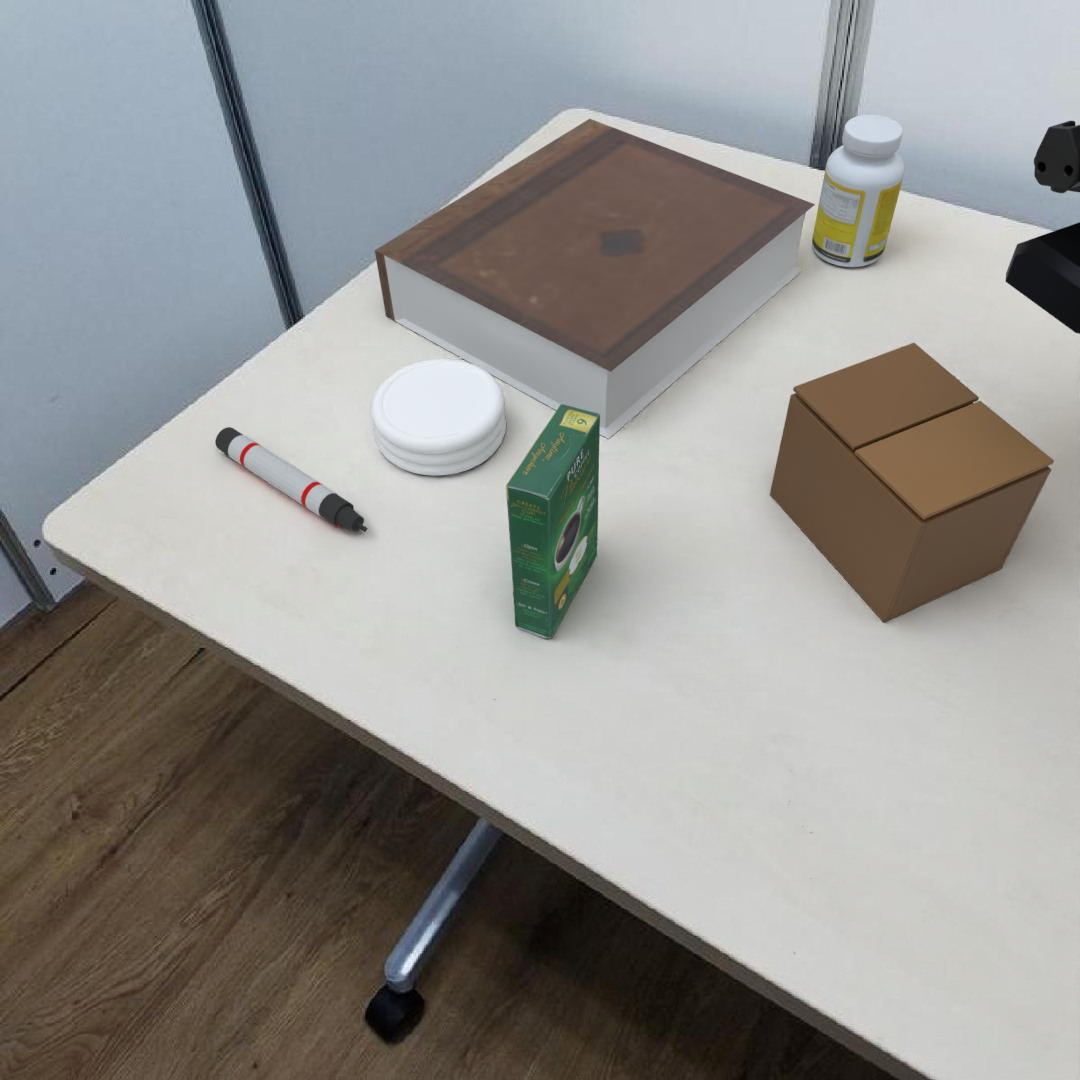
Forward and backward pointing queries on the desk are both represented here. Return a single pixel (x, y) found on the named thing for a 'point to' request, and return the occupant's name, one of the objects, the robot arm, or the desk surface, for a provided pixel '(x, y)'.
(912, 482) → the flap
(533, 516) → the coffee box
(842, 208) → the pill bottle
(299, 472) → the marker
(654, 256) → the book
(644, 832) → the desk surface
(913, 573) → the carton
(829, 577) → the desk surface
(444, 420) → the white round container
